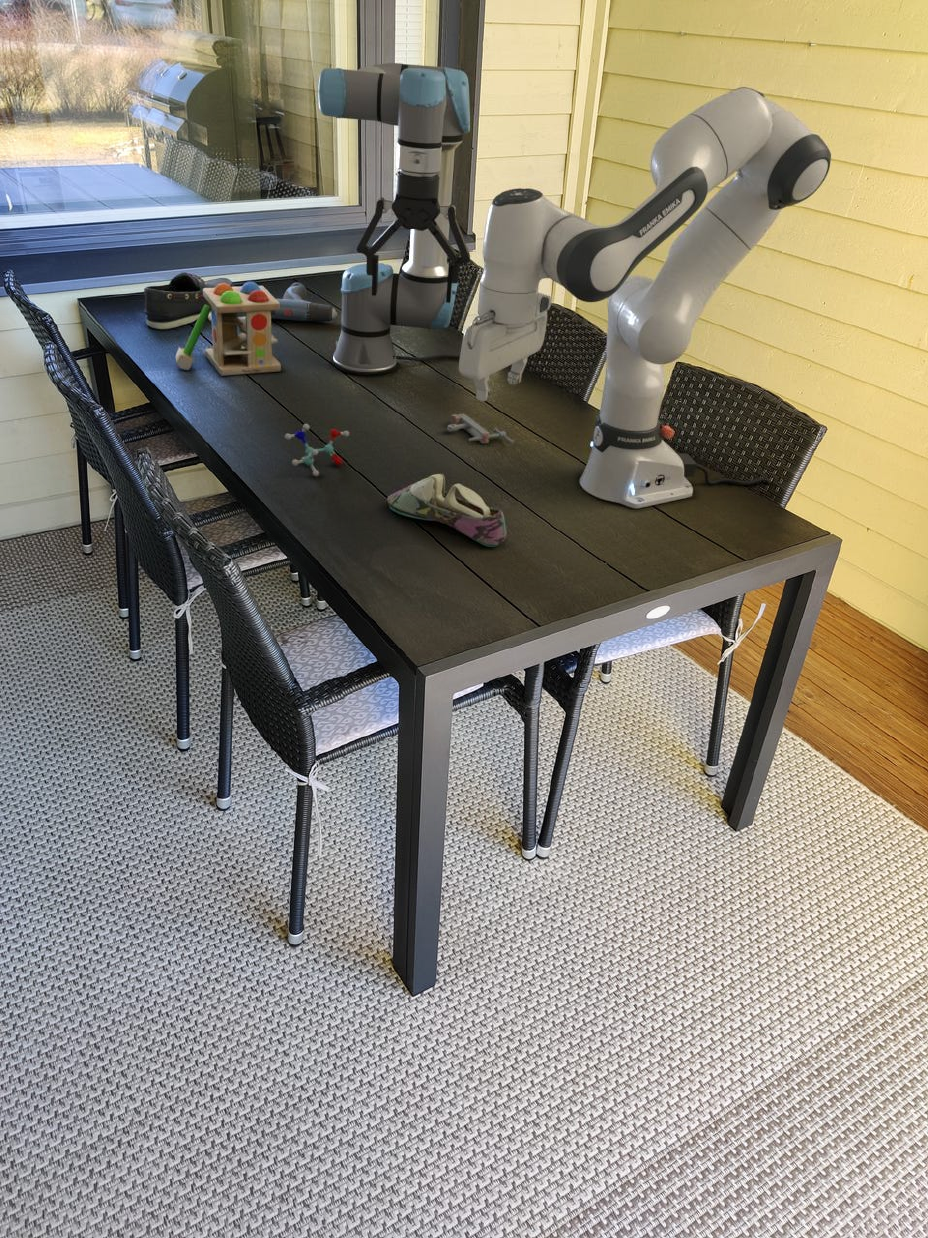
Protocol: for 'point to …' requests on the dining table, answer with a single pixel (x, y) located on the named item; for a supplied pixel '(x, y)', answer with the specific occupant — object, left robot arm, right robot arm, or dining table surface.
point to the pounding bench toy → (229, 347)
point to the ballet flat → (451, 509)
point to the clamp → (468, 424)
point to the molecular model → (313, 452)
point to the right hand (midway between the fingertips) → (498, 391)
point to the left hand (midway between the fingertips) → (411, 297)
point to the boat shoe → (178, 300)
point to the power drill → (301, 307)
